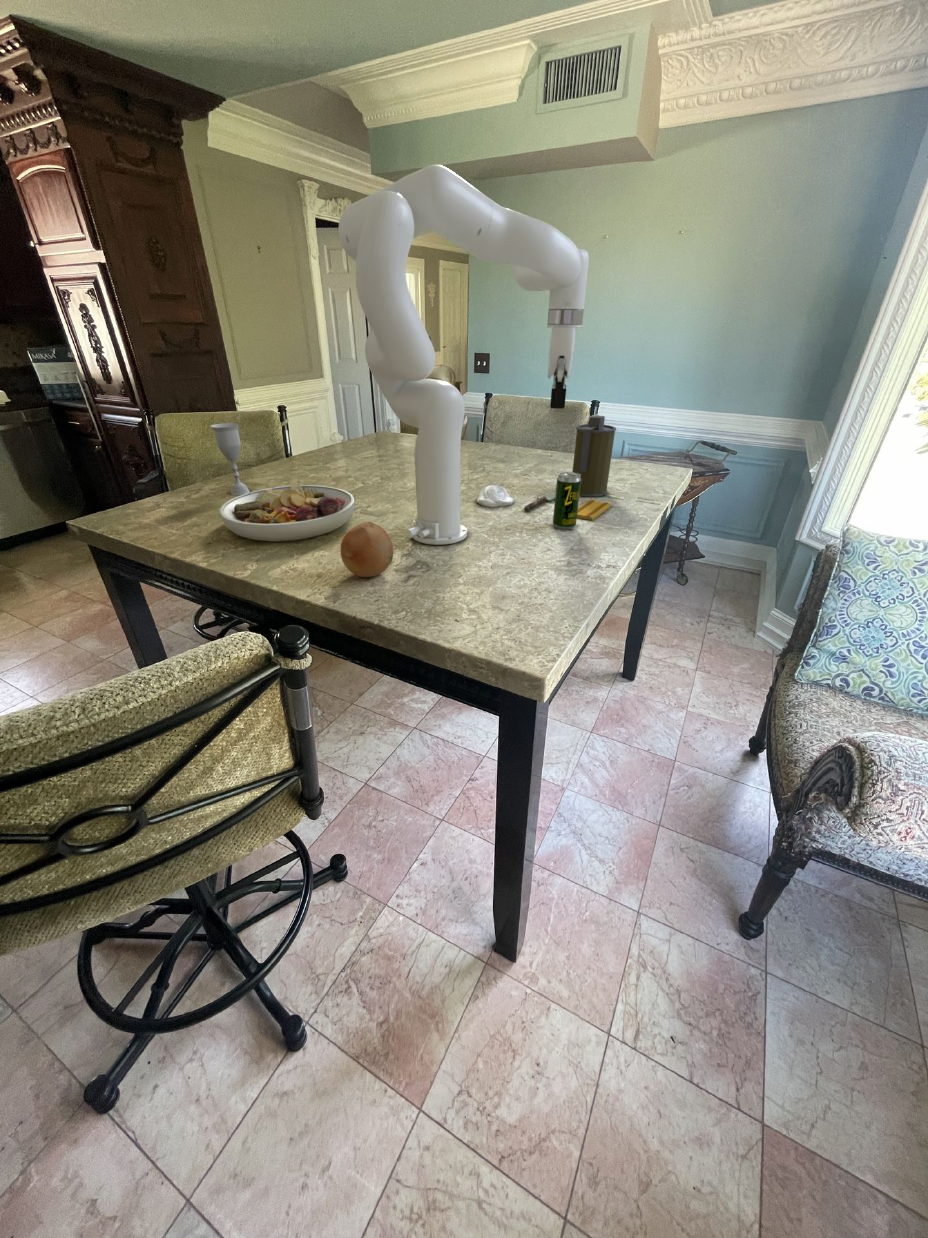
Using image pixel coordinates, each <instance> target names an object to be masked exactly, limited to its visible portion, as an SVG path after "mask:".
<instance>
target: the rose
mask: <svg viewBox="0 0 928 1238" xmlns="http://www.w3.org/2000/svg"><path fill="white" fill-rule="evenodd" d="M513 502H514V498H513V497H510V494H509V492H508V491H507V490H506V488H504V487H503V486H500V485H495V484H494V485H488V486H486V487H485V488H483V489H482V490H481V491H480V492H478V496H477V499H476V503H477V504H479V505H481V506H484V507H489V508H497V507H507V506H510V505H511V506H512V504H513Z"/></svg>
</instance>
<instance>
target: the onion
mask: <svg viewBox="0 0 928 1238" xmlns="http://www.w3.org/2000/svg"><path fill="white" fill-rule="evenodd" d="M340 542H341V543H340V558H341V561H342V563H343V565H344V566H345V568H346V569H347V570H348V571H349V572H350V573H352V574H354V575H355V576H357V577H359V578H368V579H369V578H373V577H376V576H378V575H380V574H382V573H383V572H385V571H386V570H387V569H388V568H389V566H390V565H391V563H392V561H393V559H394V545H393V542H392V539H391V537H390V535H389V533H387V531H386V530H385V528H384V527H382V526H380V525H378V524H377V523H374V522H371V521H365V522H361V523H358V524H355V525H354V526H353V527H351V528H350V529H349V530H348V531H347V532H346V533H345V534H344V536H343V538H342V540H341V541H340Z"/></svg>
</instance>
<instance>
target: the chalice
mask: <svg viewBox="0 0 928 1238" xmlns="http://www.w3.org/2000/svg"><path fill="white" fill-rule="evenodd" d="M210 427H211V429H212V430H213V433H214V437H215V440H216V445H217V447H218V449H219V451H220V452H221V453H222V455H223V456H224V458H225V459H226V460H227V461H228V462H230V463H231V469H232V471H233V474H232V476H233V477H234V480H235V482H234V483H233V484H232V486H231V488H230V489H231V490H230V494H231V495H233V496H240V495H243V494H246V493H250V492H251V491H250V490H249V489H248V486H247V485H246V484H245V483H243V482H242V481H240V474H239V472H238V469H239V467H238V466H237V464H236V461H238V460H239V457H240V452H241V445H242V442H241V437H240V434H239V423H237V422H224V423H223V422H222V423H215V424H211V425H210Z"/></svg>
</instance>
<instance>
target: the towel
mask: <svg viewBox="0 0 928 1238" xmlns="http://www.w3.org/2000/svg"><path fill="white" fill-rule="evenodd" d="M611 506H612V503H610V502H606V501H604V502H603V501H597V500H595V499H588V500H587V501H585V502H584V503H582V504H580V505H578V512H577V519H582V520H587V521H593V520H595V519H596V518H598V517H599V516H600V515H601V514H603V513H604V512H606V511H607V510H609V508H611Z"/></svg>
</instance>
